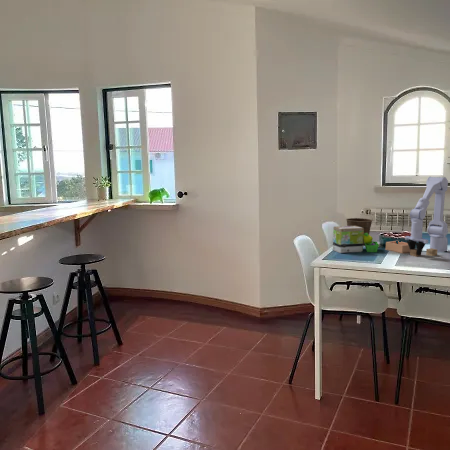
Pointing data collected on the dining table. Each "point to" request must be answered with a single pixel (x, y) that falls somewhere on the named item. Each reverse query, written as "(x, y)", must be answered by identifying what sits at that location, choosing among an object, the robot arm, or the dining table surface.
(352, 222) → the plant pot
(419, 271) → the dining table surface
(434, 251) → the oak block
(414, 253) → the walnut block
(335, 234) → the tea box
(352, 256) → the dining table surface
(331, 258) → the dining table surface
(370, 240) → the fruit basket
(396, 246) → the terracotta box
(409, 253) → the slate tray
